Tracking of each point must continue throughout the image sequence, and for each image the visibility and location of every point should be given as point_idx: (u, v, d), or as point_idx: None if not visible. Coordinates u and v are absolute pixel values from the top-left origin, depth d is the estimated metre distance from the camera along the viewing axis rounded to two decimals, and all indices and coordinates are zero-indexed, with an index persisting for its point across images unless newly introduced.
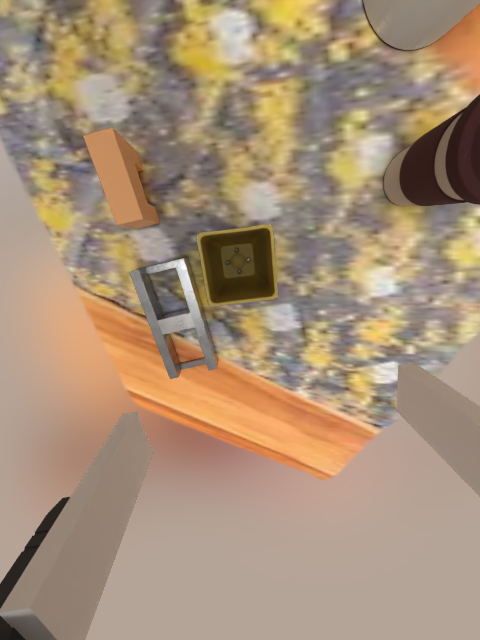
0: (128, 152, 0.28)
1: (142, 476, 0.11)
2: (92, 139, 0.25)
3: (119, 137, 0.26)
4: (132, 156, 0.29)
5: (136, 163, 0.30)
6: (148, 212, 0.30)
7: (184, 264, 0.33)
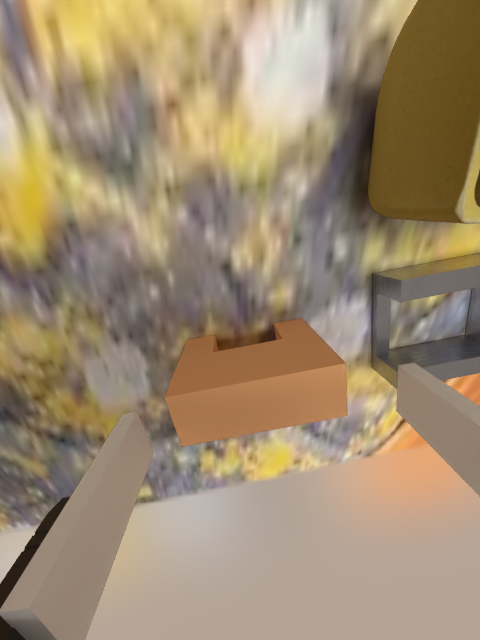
0: (198, 363, 0.14)
1: (142, 476, 0.11)
2: (187, 433, 0.12)
3: (177, 380, 0.13)
4: (201, 354, 0.15)
5: (210, 347, 0.16)
6: (305, 342, 0.14)
7: (413, 279, 0.14)
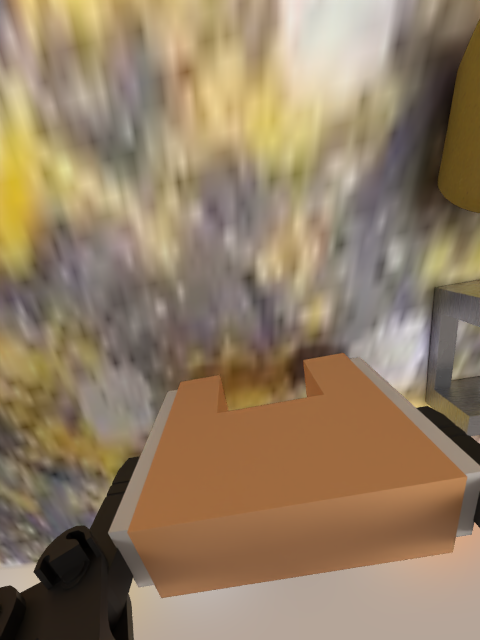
0: (193, 436, 0.09)
1: None
2: (171, 580, 0.07)
3: (156, 479, 0.08)
4: (199, 416, 0.10)
5: (213, 402, 0.11)
6: (365, 405, 0.09)
7: None
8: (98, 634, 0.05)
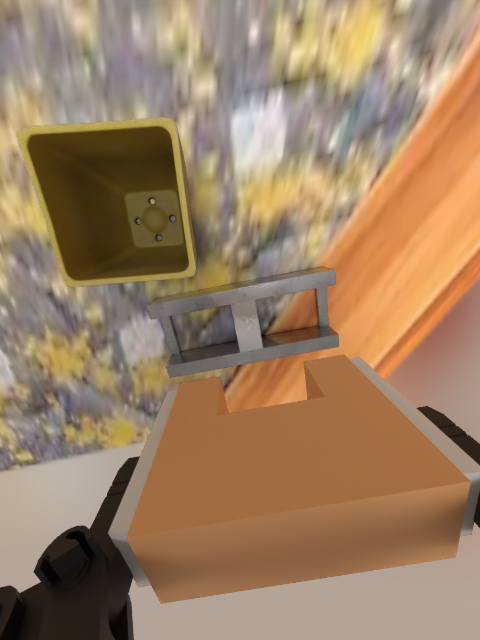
0: (193, 439, 0.09)
1: None
2: (170, 586, 0.07)
3: (156, 483, 0.07)
4: (199, 418, 0.10)
5: (213, 404, 0.11)
6: (367, 408, 0.09)
7: (154, 305, 0.22)
8: (98, 634, 0.05)
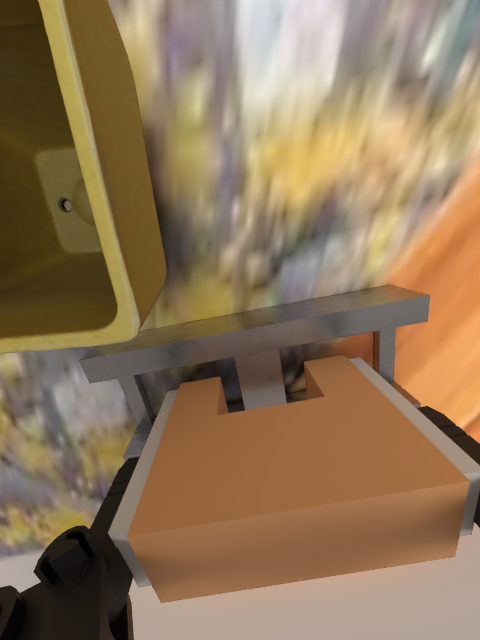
0: (193, 439, 0.09)
1: None
2: (171, 585, 0.07)
3: (156, 482, 0.07)
4: (199, 418, 0.10)
5: (213, 404, 0.11)
6: (366, 408, 0.09)
7: (95, 359, 0.12)
8: (98, 634, 0.05)
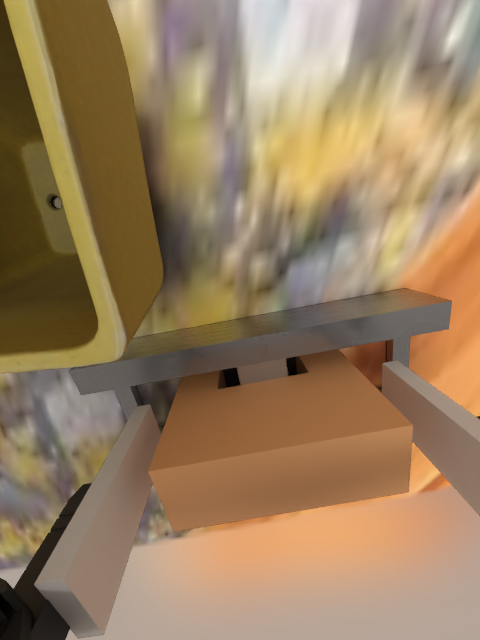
0: (198, 407, 0.11)
1: None
2: (182, 515, 0.09)
3: (169, 437, 0.09)
4: (202, 391, 0.12)
5: (214, 381, 0.12)
6: (342, 379, 0.11)
7: (86, 369, 0.11)
8: None
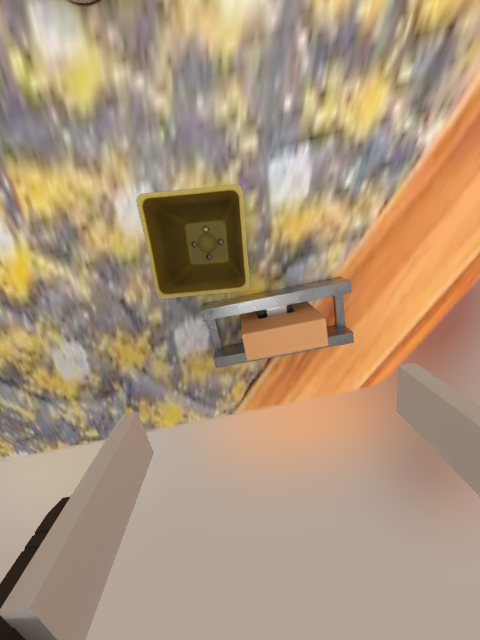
0: (252, 323, 0.28)
1: (142, 476, 0.11)
2: (250, 353, 0.26)
3: (244, 329, 0.26)
4: (252, 320, 0.29)
5: (256, 317, 0.29)
6: (308, 311, 0.27)
7: (207, 310, 0.28)
8: None
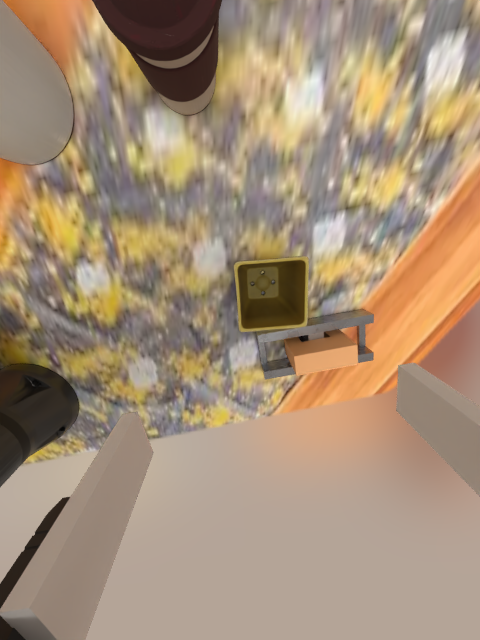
0: (298, 345, 0.36)
1: (142, 476, 0.11)
2: (299, 370, 0.34)
3: (294, 351, 0.34)
4: (296, 342, 0.37)
5: (298, 340, 0.38)
6: (340, 337, 0.36)
7: (262, 335, 0.36)
8: None
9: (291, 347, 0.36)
